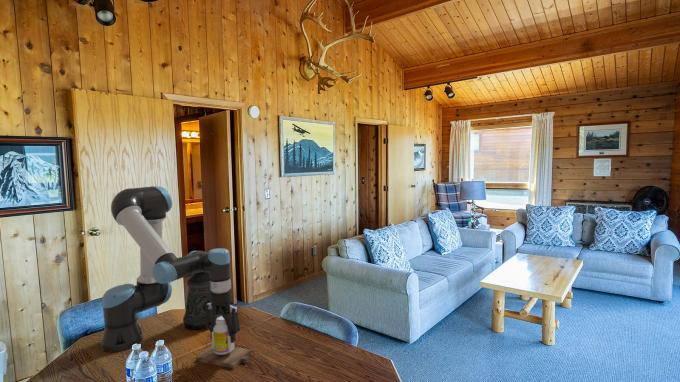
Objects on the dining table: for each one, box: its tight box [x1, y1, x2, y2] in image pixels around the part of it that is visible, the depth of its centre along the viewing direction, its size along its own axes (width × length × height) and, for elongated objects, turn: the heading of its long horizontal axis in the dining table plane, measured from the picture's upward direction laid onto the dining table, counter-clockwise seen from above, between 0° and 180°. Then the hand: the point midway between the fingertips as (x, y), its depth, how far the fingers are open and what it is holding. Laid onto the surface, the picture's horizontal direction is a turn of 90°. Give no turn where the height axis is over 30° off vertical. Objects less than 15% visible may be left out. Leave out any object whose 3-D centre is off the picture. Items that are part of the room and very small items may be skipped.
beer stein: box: [182, 272, 222, 332], centre depth 171 cm, size 16×19×25 cm
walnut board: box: [195, 345, 252, 369], centre depth 140 cm, size 19×11×2 cm, turn 70°
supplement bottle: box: [213, 315, 229, 355], centre depth 140 cm, size 7×7×13 cm
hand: (223, 348), depth 141 cm, fingers closed on supplement bottle, 7 cm apart
